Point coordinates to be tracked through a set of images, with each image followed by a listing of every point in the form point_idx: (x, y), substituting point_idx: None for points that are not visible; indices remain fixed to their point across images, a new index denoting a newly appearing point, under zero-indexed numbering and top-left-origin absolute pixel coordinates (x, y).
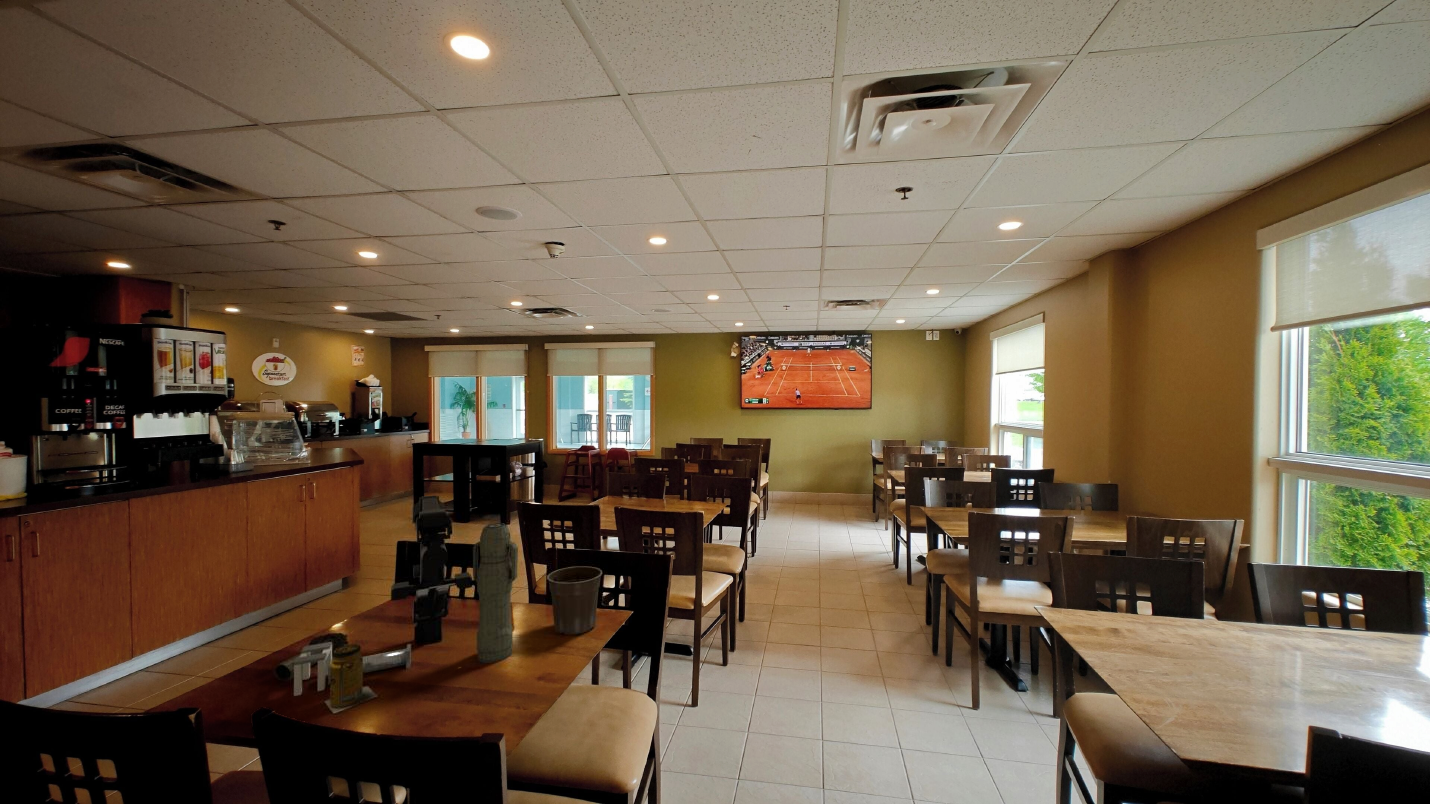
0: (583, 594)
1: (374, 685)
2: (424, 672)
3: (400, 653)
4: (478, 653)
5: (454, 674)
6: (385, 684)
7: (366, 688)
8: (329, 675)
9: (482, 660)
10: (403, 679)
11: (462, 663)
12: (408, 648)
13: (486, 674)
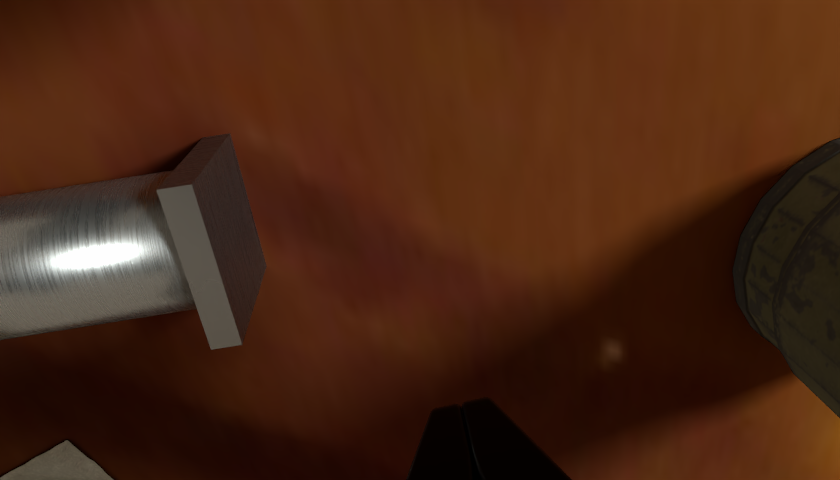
0: None
1: (110, 435)
2: (391, 358)
3: (152, 307)
4: (765, 312)
5: (579, 427)
6: (179, 439)
7: (77, 465)
8: None
9: (762, 335)
10: (275, 409)
11: (630, 305)
12: (207, 291)
13: (747, 467)
